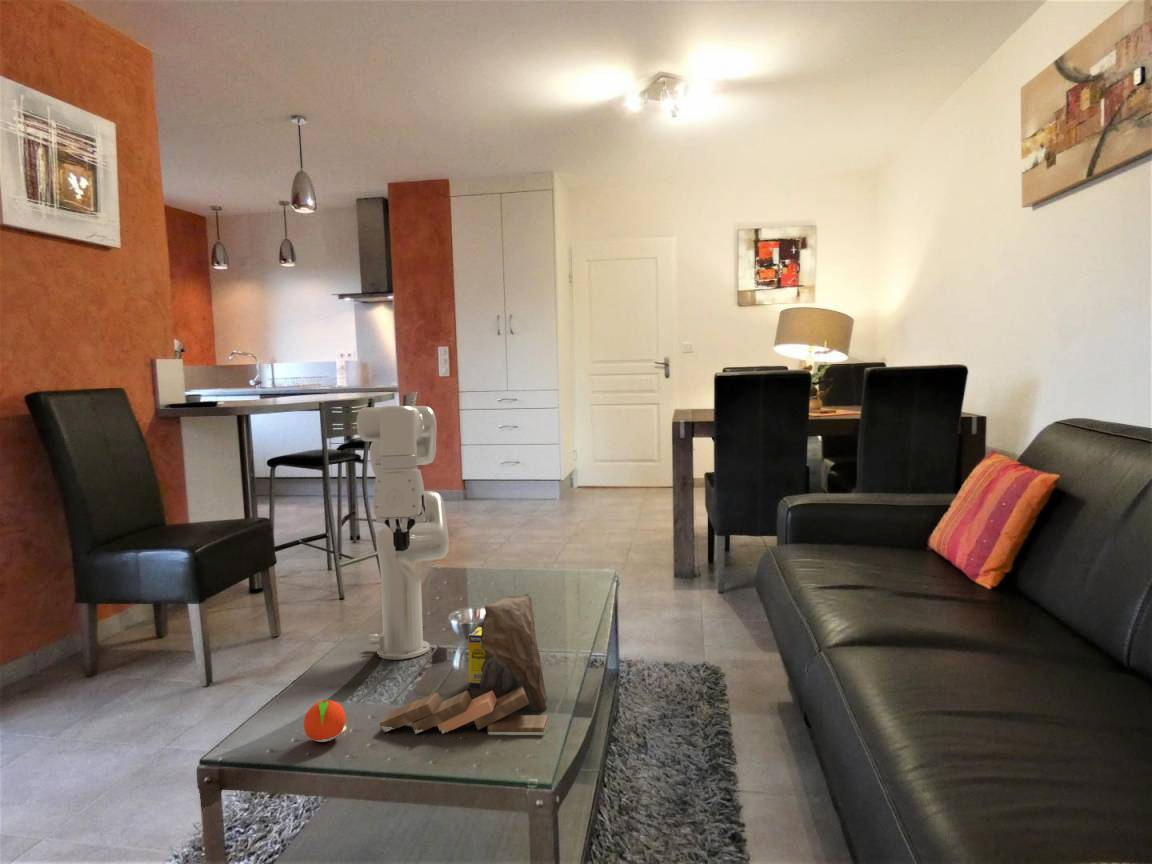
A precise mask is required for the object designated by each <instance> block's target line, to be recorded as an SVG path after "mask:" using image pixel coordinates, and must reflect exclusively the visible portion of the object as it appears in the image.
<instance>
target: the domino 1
mask: <svg viewBox="0 0 1152 864" xmlns="http://www.w3.org/2000/svg"><path fill="white" fill-rule="evenodd" d="M442 702H443V701H442V698H441V697H440V693H439V692H438V691H437V692H434V693H433V694H430V695H427V696H425V697H422V698H420V699H418V700H414V701H413V702H410V703H407V704H406V705H405V704H404V705H402V706H400V707H398V708H395V709H393V710H391V711H389V712H388V713H387V715H385V717H384V718H383V719H381V721H380V722H379V726H380V727H381V726H384V727H385V726H386V727H392V728H397V729H399V728H401V727H403V726H404V727H405V726H406V725H409V724H412V722H414V721H416V720H419V719H421V718H424V717H426V716H429V715H431V714H433V713H434V712H435V710H436V709H437V708H438V707H439V705H440V704H441V703H442Z"/></svg>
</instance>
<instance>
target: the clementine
mask: <svg viewBox="0 0 1152 864" xmlns="http://www.w3.org/2000/svg"><path fill="white" fill-rule="evenodd" d="M346 719H347V718H346V713H345V710H344V708H343V706H341V705H340V703H338V702H336V701H334V700H332V699H324V700H320V701H318V702H316V703H315V704H313V705H312V706H311V707H310V708H309V710H308V711H307V713H306V714H305V717H304V718H303V729H304V730H303V731H304V733H305V735H306V736H307V738H308V739H310V738H311V739H314V740H322V739H328V738H331V737H334V736H336V735H338V734H339V733H340V734H341V733H342V732H343V730H344V727H345V725H346V721H347V720H346ZM311 739H310V740H311Z"/></svg>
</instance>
